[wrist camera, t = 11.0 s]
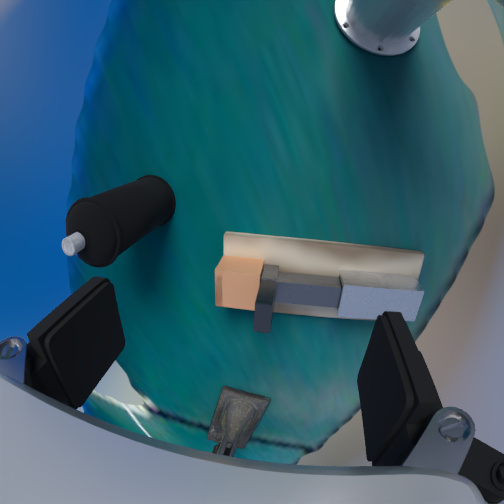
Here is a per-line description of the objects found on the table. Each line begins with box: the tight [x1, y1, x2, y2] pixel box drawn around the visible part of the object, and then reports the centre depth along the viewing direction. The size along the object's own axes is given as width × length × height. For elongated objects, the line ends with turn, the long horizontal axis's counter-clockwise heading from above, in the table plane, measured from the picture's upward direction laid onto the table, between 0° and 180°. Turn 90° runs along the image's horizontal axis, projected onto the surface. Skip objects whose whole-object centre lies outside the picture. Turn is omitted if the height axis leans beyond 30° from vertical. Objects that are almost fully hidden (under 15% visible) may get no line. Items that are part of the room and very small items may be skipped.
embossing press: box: [207, 386, 270, 457], centre depth 47 cm, size 11×24×30 cm, turn 163°
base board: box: [224, 231, 425, 321], centre depth 44 cm, size 12×30×2 cm, turn 87°
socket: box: [215, 255, 264, 311], centre depth 43 cm, size 6×6×5 cm
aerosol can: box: [62, 175, 175, 267], centre depth 35 cm, size 8×8×20 cm
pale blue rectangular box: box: [336, 269, 425, 321], centre depth 40 cm, size 5×12×5 cm, turn 87°
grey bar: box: [253, 264, 343, 333], centre depth 39 cm, size 4×16×10 cm, turn 87°
